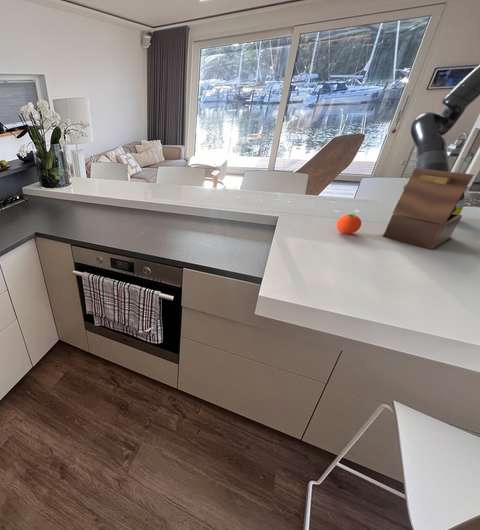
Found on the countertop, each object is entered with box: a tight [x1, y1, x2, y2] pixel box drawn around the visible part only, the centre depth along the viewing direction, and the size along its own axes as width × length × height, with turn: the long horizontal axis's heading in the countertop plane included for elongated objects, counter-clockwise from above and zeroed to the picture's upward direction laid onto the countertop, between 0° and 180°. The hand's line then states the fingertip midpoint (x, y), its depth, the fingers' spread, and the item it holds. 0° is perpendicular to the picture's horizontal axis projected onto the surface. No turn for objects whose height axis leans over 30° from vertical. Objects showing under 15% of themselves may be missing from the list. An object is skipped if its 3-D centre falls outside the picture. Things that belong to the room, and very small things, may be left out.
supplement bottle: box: [453, 183, 471, 215], centre depth 103 cm, size 7×7×13 cm
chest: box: [383, 213, 463, 250], centre depth 95 cm, size 14×13×8 cm
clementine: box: [336, 213, 362, 235], centre depth 102 cm, size 8×7×7 cm
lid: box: [392, 167, 475, 225], centre depth 86 cm, size 14×13×5 cm
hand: (433, 212), depth 92 cm, fingers open, 8 cm apart
